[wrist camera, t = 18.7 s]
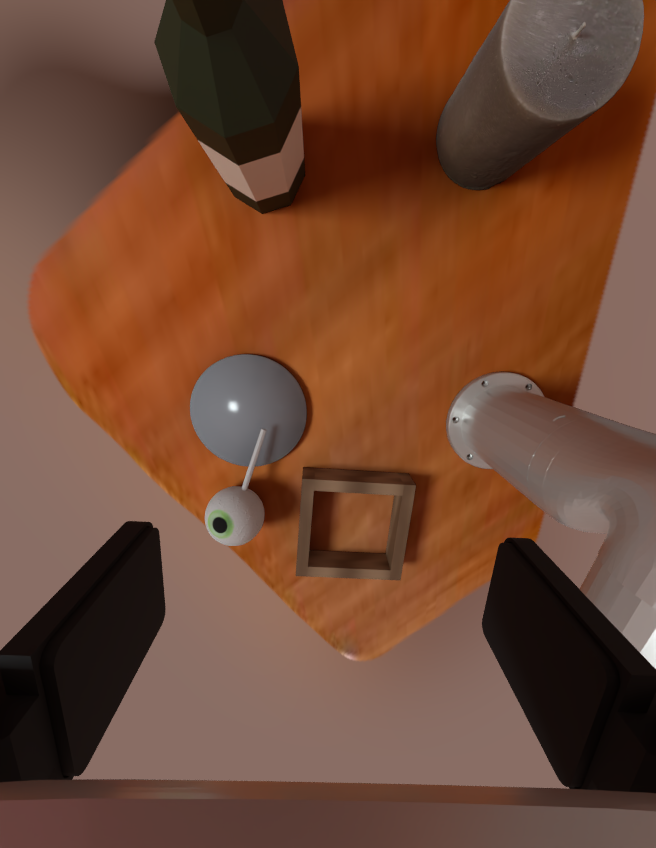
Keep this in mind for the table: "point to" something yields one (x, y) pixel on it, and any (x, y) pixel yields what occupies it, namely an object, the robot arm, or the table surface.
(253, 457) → the eyeball on stick
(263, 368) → the gray round disc
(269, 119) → the wine bottle
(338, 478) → the frame
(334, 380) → the table surface
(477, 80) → the pillar candle
